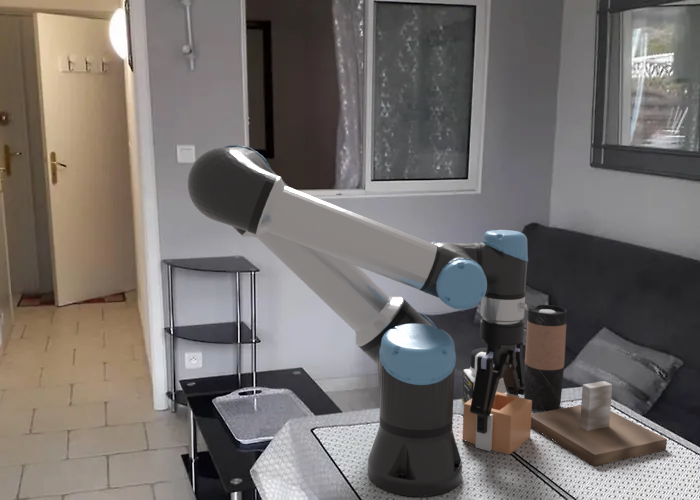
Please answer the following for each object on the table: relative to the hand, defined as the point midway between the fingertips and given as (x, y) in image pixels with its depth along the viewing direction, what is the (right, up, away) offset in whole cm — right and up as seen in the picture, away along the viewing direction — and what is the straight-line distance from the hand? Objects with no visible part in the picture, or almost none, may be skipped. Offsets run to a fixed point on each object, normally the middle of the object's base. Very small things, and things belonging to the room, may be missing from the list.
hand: (497, 437), depth 127 cm
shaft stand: (+18, 0, +1) cm, 18 cm away
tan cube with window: (0, 0, 0) cm, 0 cm away
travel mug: (+13, +2, +16) cm, 21 cm away
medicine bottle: (0, +2, +14) cm, 14 cm away
